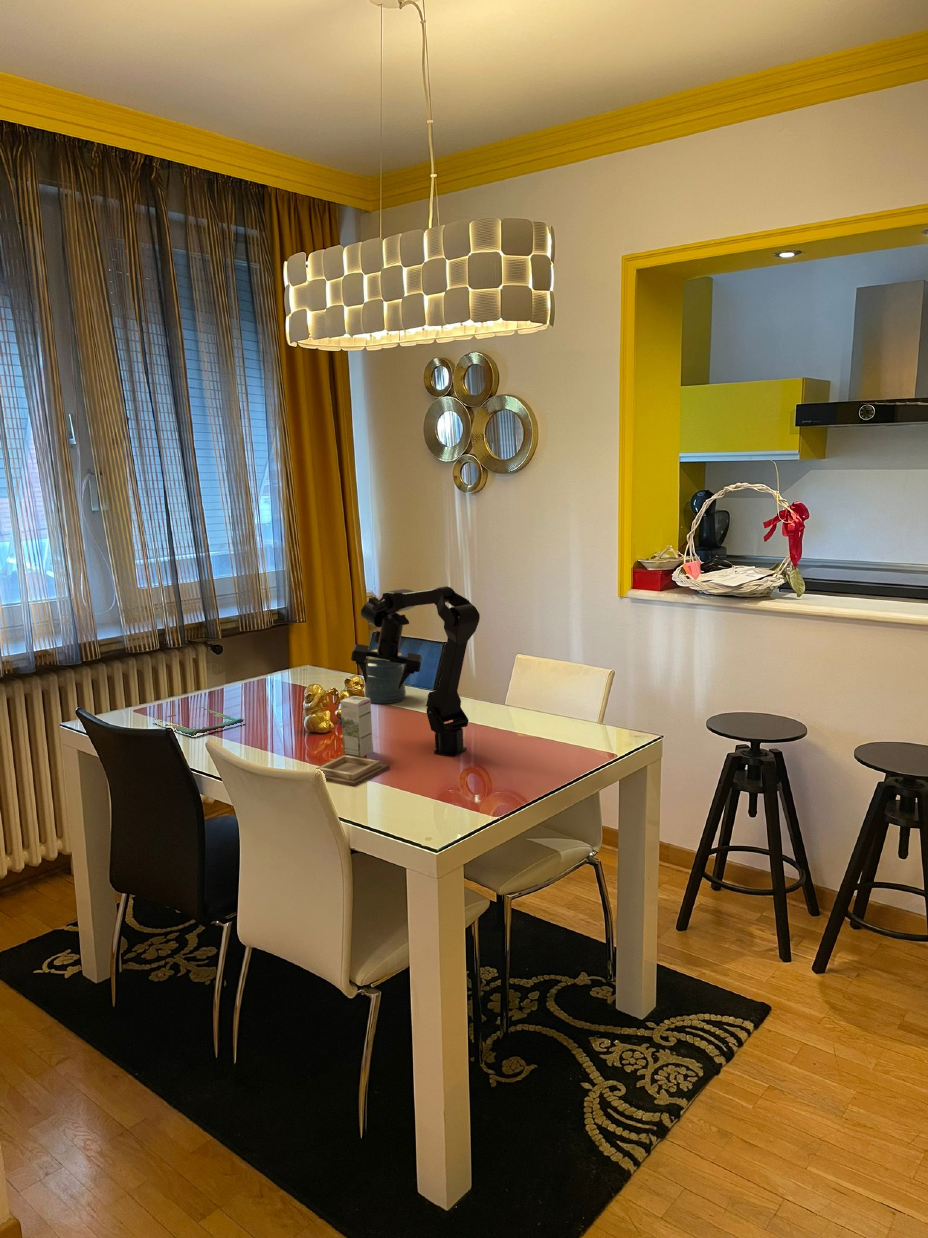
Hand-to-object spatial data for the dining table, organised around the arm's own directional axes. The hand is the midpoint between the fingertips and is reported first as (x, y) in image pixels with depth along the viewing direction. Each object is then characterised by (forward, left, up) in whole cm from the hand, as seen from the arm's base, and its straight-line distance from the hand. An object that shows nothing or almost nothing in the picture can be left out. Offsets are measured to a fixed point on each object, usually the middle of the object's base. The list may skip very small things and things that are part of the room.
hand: (382, 685), depth 251 cm
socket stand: (-12, +31, -13) cm, 36 cm away
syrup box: (-5, +18, -13) cm, 23 cm away
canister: (+20, -29, -13) cm, 38 cm away
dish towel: (+54, +17, -14) cm, 59 cm away
